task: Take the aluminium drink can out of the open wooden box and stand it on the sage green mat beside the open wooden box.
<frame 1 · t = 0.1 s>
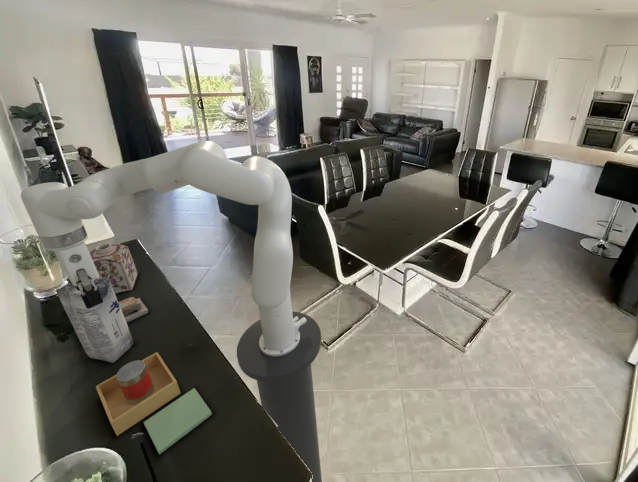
hand: (90, 296, 80), 28 cm above the sideboard, tool pointing down, fingers open, 9 cm apart
decorative jar: (118, 286, 127), on the sideboard
juice carton: (112, 351, 98), on the sideboard
packaged product: (114, 320, 110), on the sideboard
mat: (178, 419, 80), on the sideboard
open wooden box: (141, 396, 85), on the sideboard
can: (140, 394, 85), point 1 cm above the sideboard, touching open wooden box
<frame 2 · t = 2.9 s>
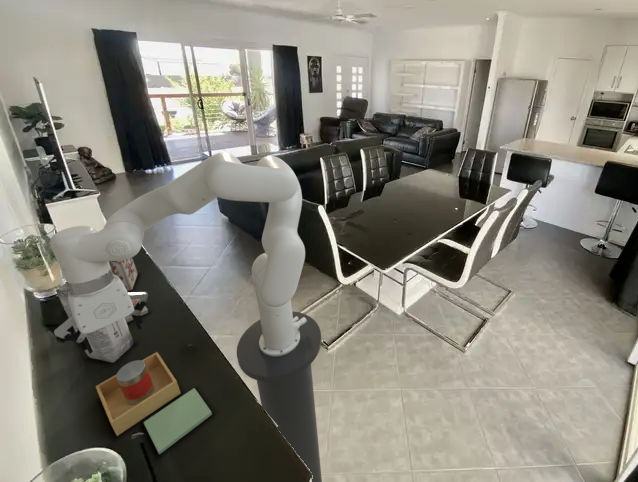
hand: (115, 337, 78), 20 cm above the sideboard, tool pointing down, fingers open, 9 cm apart
nothing on the sideboard moved.
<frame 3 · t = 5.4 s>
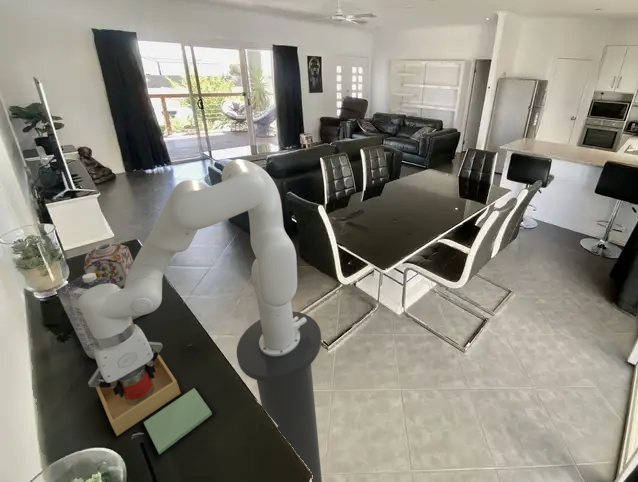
hand: (136, 383, 84), 5 cm above the sideboard, tool pointing down, fingers closed on can, 6 cm apart
can: (140, 394, 85), point 1 cm above the sideboard, touching open wooden box, gripper
everything else where it was.
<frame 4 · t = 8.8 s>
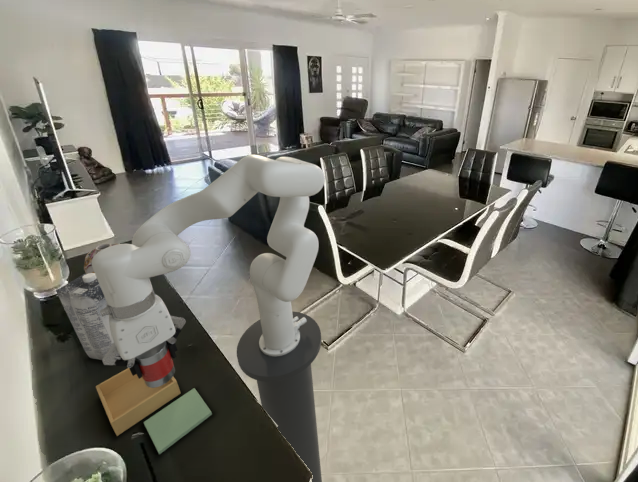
hand: (156, 363, 73), 19 cm above the sideboard, tool pointing down, fingers closed on can, 6 cm apart
can: (160, 375, 74), point 15 cm above the sideboard, touching gripper
everything else where it was.
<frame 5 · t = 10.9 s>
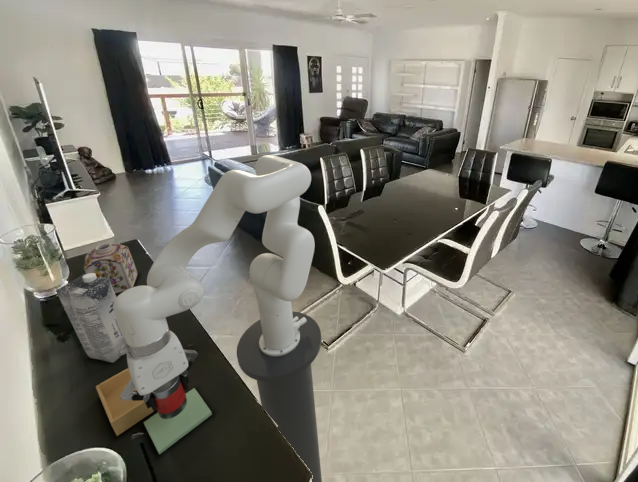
hand: (169, 395, 76), 9 cm above the sideboard, tool pointing down, fingers closed on can, 6 cm apart
can: (173, 406, 78), point 5 cm above the sideboard, touching gripper
everything else where it was.
when the fingers open (5 cm above the sideboard, at t = 12.5 s): can stays where it is, resting on mat.
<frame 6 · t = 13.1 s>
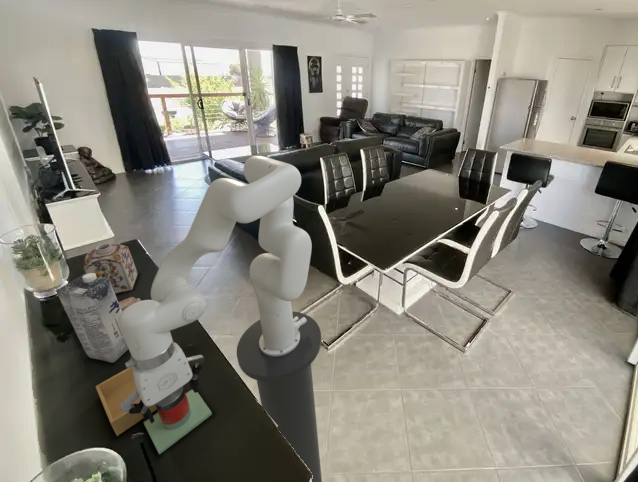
hand: (173, 403, 78), 6 cm above the sideboard, tool pointing down, fingers open, 9 cm apart
can: (177, 417, 80), point 1 cm above the sideboard, touching mat
everything else where it was.
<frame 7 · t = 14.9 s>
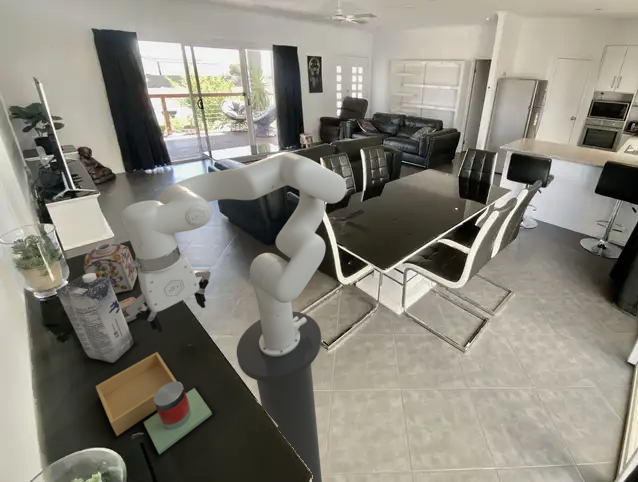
hand: (180, 316, 76), 26 cm above the sideboard, tool pointing down, fingers open, 9 cm apart
nothing on the sideboard moved.
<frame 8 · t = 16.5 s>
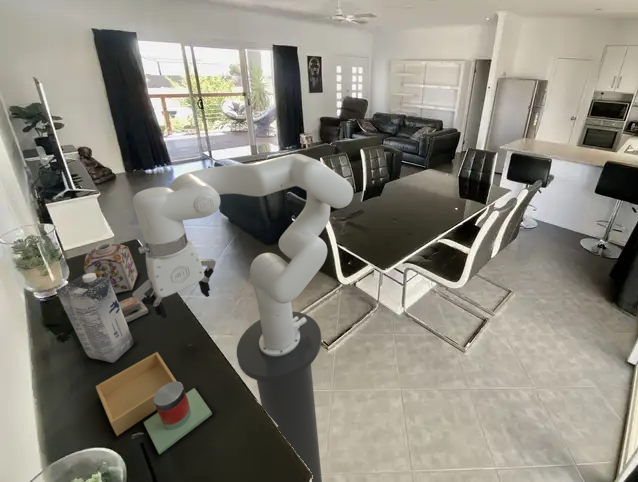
hand: (185, 304, 77), 28 cm above the sideboard, tool pointing down, fingers open, 9 cm apart
nothing on the sideboard moved.
at the end: can inside the target area on the mat (0.1 cm from its centre), point 1.0 cm above the mat's base; can tilted 0°; the gripper is holding nothing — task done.
